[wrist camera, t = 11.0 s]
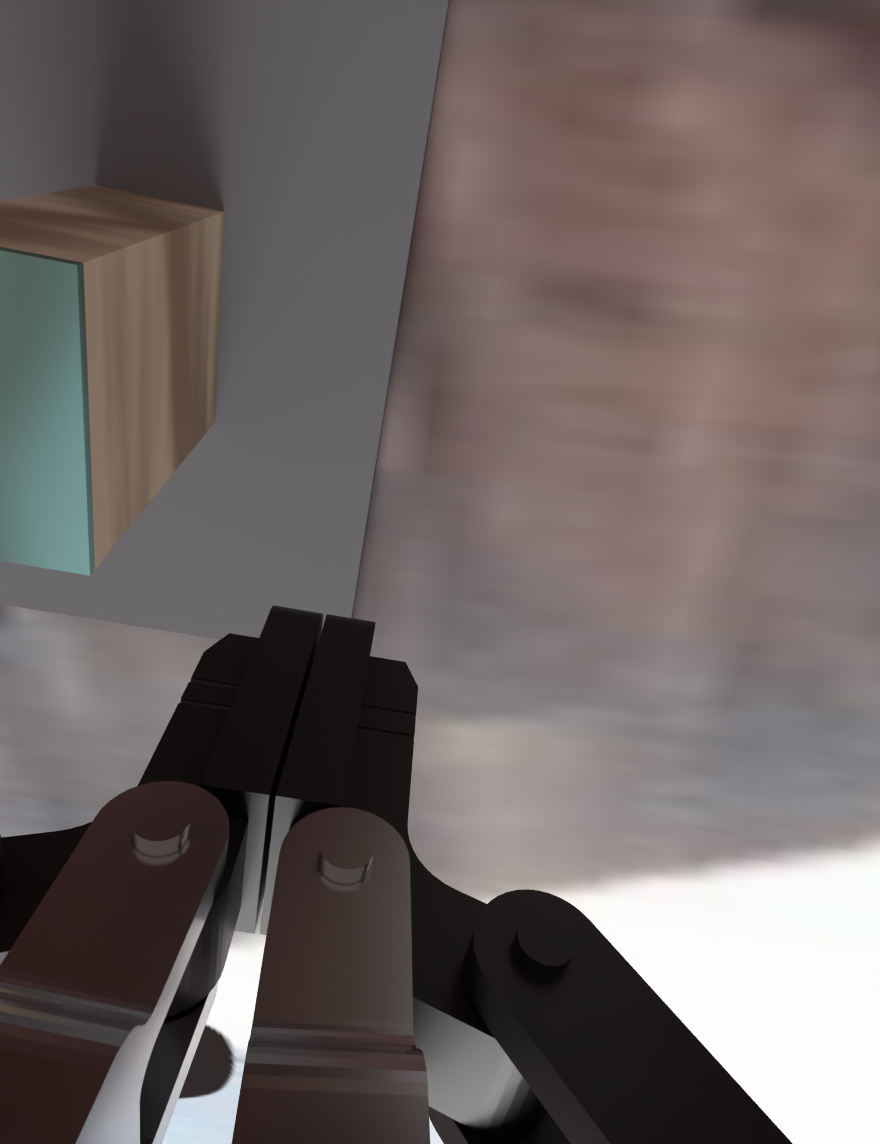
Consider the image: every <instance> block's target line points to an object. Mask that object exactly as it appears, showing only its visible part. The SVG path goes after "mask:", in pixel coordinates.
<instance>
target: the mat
mask: <svg viewBox="0 0 880 1144" xmlns="http://www.w3.org/2000/svg"><path fill="white" fill-rule="evenodd" d="M449 1H450V0H0V200H6V199H12V198H18V197H24V196H31V195H37V194H43V193H49V192H56V191H62V190H68V189H75V188H81V187H87V186H93V185H96V186H101V187H106V188H111V189H116V190H121V191H125V192H130V193H135V194H140V195H145V196H150V197H155V198H160V199H165V200H170V201H175V202H180V203H185V204H189V205H194V206H199V207H204V208H209V209H214V210H219V211H224V229H223V251H222V273H221V295H220V318H219V340H218V362H217V384H216V406H215V423H214V424H213V425H212V426H211V428H210V429H209V430H208V431H207V433H206V434H205V435H204V436H203V437H202V439H201V440H200V441H199V442H198V444H197V445H196V446H195V447H194V448H193V450H192V451H191V452H190V453H189V455H188V456H187V457H186V458H185V460H184V461H183V462H182V463H181V464H180V466H179V467H178V468H177V469H176V471H175V472H174V473H173V474H172V476H171V477H170V478H169V479H168V480H167V482H166V483H165V484H164V485H163V487H162V488H161V489H160V490H159V492H158V493H157V494H156V495H155V496H154V498H153V499H152V500H151V501H150V503H149V504H148V505H147V506H146V507H145V509H144V510H143V511H142V512H141V514H140V515H139V516H138V517H137V519H136V520H135V521H134V522H133V523H132V525H131V526H130V527H129V528H128V530H127V531H126V532H125V533H124V535H123V536H122V537H121V538H120V539H119V541H118V542H117V543H116V544H115V546H114V547H113V548H112V549H111V551H110V552H109V553H108V554H107V555H106V557H105V558H104V559H103V560H102V562H101V563H100V564H99V565H98V567H97V568H96V569H95V570H94V571H93V573H92V574H91V575H90V576H89V575H83V574H77V573H71V572H65V571H59V570H53V569H46V568H40V567H34V566H28V565H22V564H16V563H10V562H4V561H0V604H4V605H10V606H17V607H23V608H29V609H35V610H41V611H48V612H54V613H60V614H66V615H72V616H79V617H85V618H91V619H97V620H103V621H110V622H116V623H122V624H128V625H134V626H141V627H147V628H153V629H159V630H165V631H172V632H178V633H184V634H190V635H196V636H203V637H209V638H215V639H222V638H223V637H225V636H226V635H227V634H229V633H232V634H238V635H244V636H250V637H256V638H259V637H260V635H261V632H262V630H263V627H264V625H265V622H266V620H267V617H268V615H269V612H270V610H271V608H272V606H273V605H275V606H281V607H287V608H293V609H299V610H305V611H311V612H316V613H322V614H323V624H322V628H323V625H324V621H325V618H326V615H327V614H329V615H335V616H341V617H347V618H352V615H353V608H354V602H355V596H356V589H357V583H358V577H359V570H360V564H361V558H362V551H363V545H364V539H365V532H366V526H367V520H368V513H369V507H370V501H371V494H372V488H373V482H374V475H375V469H376V463H377V456H378V450H379V444H380V437H381V431H382V425H383V418H384V412H385V406H386V399H387V393H388V387H389V380H390V374H391V368H392V362H393V355H394V349H395V343H396V336H397V330H398V324H399V317H400V311H401V305H402V298H403V292H404V286H405V279H406V273H407V267H408V260H409V254H410V248H411V241H412V235H413V229H414V222H415V216H416V210H417V203H418V197H419V191H420V184H421V178H422V172H423V165H424V159H425V153H426V146H427V140H428V134H429V128H430V121H431V115H432V109H433V102H434V96H435V90H436V83H437V77H438V71H439V64H440V58H441V52H442V45H443V39H444V33H445V26H446V20H447V14H448V7H449Z"/></svg>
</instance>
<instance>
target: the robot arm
mask: <svg viewBox="0 0 880 1144" xmlns="http://www.w3.org/2000/svg"><path fill="white" fill-rule="evenodd" d="M375 623H376V622H371V621H365V620H359V619H353V618H347V617H341V616H335V615H329V614H327V615H326V618H325V621H324V625H323V628H322V624H323V614H322V613H316V612H311V611H305V610H299V609H293V608H287V607H281V606H275V605H273V606H272V608H271V610H270V612H269V615H268V617H267V620H266V622H265V625H264V627H263V630H262V632H261V635H260V637H259V638H256V637H250V636H244V635H238V634H232V633H229V634H227V635H226V636H225V637H223V638H222V639H221V640H219V641H218V642H217V643H215V644H214V645H213V646H211V647H210V648H209V649H207V650H206V651H205V652H204V653H203V655H202V657H201V659H200V661H199V663H198V665H197V667H196V669H195V671H194V673H193V675H192V677H191V682H189V683H188V685H187V687H186V689H185V691H184V693H183V695H182V697H181V702H180V704H178V706H177V708H176V710H175V712H174V714H173V716H172V718H171V720H170V722H169V724H168V726H167V728H166V730H165V732H164V734H163V736H162V738H161V740H160V742H159V744H158V746H157V748H156V750H155V752H154V754H153V756H152V758H151V760H150V762H149V764H148V766H147V768H146V770H145V772H144V774H143V776H142V778H141V780H140V782H139V784H138V786H137V787H134V788H131V789H129V790H127V791H125V792H123V793H121V794H119V795H118V796H116V797H115V798H113V799H112V800H110V801H109V802H108V803H107V804H106V805H105V806H104V807H103V808H102V809H101V810H100V812H99V813H98V814H97V816H96V817H95V818H94V820H93V822H90V823H88V824H85V825H82V826H79V827H75V828H71V829H67V830H61V831H55V832H46V833H38V834H29V835H20V836H12V837H3V838H1V836H0V1144H162V1141H163V1139H164V1136H165V1133H166V1131H167V1128H168V1125H169V1122H170V1120H171V1117H172V1114H173V1111H174V1109H175V1106H176V1103H177V1100H178V1098H179V1095H180V1092H181V1089H182V1087H183V1084H184V1081H185V1078H186V1076H187V1073H188V1070H189V1067H190V1065H191V1062H192V1059H193V1057H194V1054H195V1051H196V1048H197V1046H198V1043H199V1040H200V1037H201V1035H202V1032H203V1029H204V1027H205V1024H206V1021H207V1018H208V1016H209V1013H210V1010H211V1008H212V1005H213V1002H214V999H215V996H216V992H217V985H218V980H219V978H220V976H221V974H222V971H223V968H224V965H225V961H226V958H227V954H228V951H229V947H230V944H231V940H232V937H233V933H234V931H240V932H247V933H255V929H256V925H257V921H258V917H259V913H260V910H261V906H262V902H263V898H264V903H263V912H262V921H261V930H260V934H264V935H266V942H265V948H264V954H263V961H262V967H261V973H260V980H259V986H258V992H257V999H256V1005H255V1012H254V1018H253V1024H252V1030H251V1036H250V1040H249V1042H248V1047H247V1053H246V1059H245V1064H244V1071H243V1077H242V1083H241V1089H240V1095H239V1102H238V1108H237V1114H236V1120H235V1127H234V1133H233V1139H232V1144H430V1130H429V1117H430V1120H431V1122H432V1124H433V1126H434V1128H435V1130H436V1131H437V1133H438V1135H439V1136H440V1138H441V1140H442V1141H443V1143H444V1144H792V1143H791V1142H790V1140H789V1139H788V1138H787V1137H786V1136H785V1135H784V1134H783V1133H782V1132H781V1130H780V1129H779V1128H778V1127H777V1126H776V1125H775V1124H774V1123H773V1122H772V1121H771V1119H770V1118H769V1117H768V1116H767V1115H766V1114H765V1113H764V1112H763V1111H762V1110H761V1108H760V1107H759V1106H758V1105H757V1104H756V1103H755V1102H754V1101H753V1100H752V1099H751V1097H750V1096H749V1095H748V1094H747V1093H746V1092H745V1091H744V1090H743V1089H742V1088H741V1086H740V1085H739V1084H738V1083H737V1082H736V1081H735V1080H734V1079H733V1078H732V1077H731V1075H730V1074H729V1073H728V1072H727V1071H726V1070H725V1069H724V1068H723V1067H722V1066H721V1064H720V1063H719V1062H718V1061H717V1060H716V1059H715V1058H714V1057H713V1056H712V1055H711V1053H710V1052H709V1051H708V1050H707V1049H706V1048H705V1047H704V1046H703V1045H702V1044H701V1042H700V1041H699V1040H698V1039H697V1038H696V1037H695V1036H694V1035H693V1034H692V1032H691V1031H690V1030H689V1029H688V1028H687V1027H686V1026H685V1025H684V1024H683V1023H682V1021H681V1020H680V1019H679V1018H678V1017H677V1016H676V1015H675V1014H674V1013H673V1012H672V1010H671V1009H670V1008H669V1007H668V1006H667V1005H666V1004H665V1003H664V1002H663V1001H662V999H661V998H660V997H659V996H658V995H657V994H656V993H655V992H654V991H653V990H652V988H651V987H650V986H649V985H648V984H647V983H646V982H645V981H644V980H643V979H642V977H641V976H640V975H639V974H638V973H637V972H636V971H635V970H634V969H633V968H632V966H631V965H630V964H629V963H628V962H627V961H626V960H625V959H624V958H623V957H622V955H621V954H620V953H619V952H618V951H617V950H616V949H615V948H614V947H613V946H612V944H611V943H610V942H609V941H608V940H607V939H606V938H605V937H604V936H603V934H602V933H601V932H600V931H599V930H598V929H597V928H596V927H595V926H594V925H593V923H592V922H591V921H590V920H589V919H588V918H587V917H586V916H585V915H584V914H583V913H582V912H581V911H580V910H578V909H577V908H576V907H574V906H573V905H571V904H570V903H568V902H567V901H565V900H563V899H561V898H559V897H557V896H554V895H552V894H549V893H546V892H542V891H537V890H515V891H510V892H506V893H504V894H502V895H499V896H497V897H496V898H494V899H493V900H491V901H490V902H489V903H488V904H486V903H483V902H481V901H479V900H477V899H475V898H473V897H470V896H468V895H466V894H464V893H462V892H460V891H457V890H455V889H453V888H452V887H450V886H448V885H446V884H444V883H443V882H441V881H440V880H439V879H437V878H436V877H435V876H433V875H432V874H431V873H430V872H429V871H428V870H427V869H426V868H425V867H424V866H423V864H422V863H421V862H420V861H419V859H418V858H417V856H416V854H415V852H414V851H413V848H412V846H411V843H410V841H409V836H408V825H407V822H408V809H409V797H410V784H411V771H412V758H413V745H414V741H413V740H414V733H415V720H416V718H415V716H416V707H417V694H418V686H417V684H416V682H415V680H414V678H413V676H412V674H411V672H410V670H409V668H408V666H407V664H406V662H401V661H395V660H389V659H383V658H377V657H371V656H370V651H371V646H372V640H373V634H374V629H375ZM264 894H265V895H264Z"/></svg>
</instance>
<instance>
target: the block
mask: <svg viewBox="0 0 880 1144" xmlns="http://www.w3.org/2000/svg"><path fill="white" fill-rule="evenodd" d="M223 229H224V211H219V210H214V209H209V208H204V207H199V206H194V205H189V204H185V203H180V202H175V201H170V200H165V199H160V198H155V197H150V196H145V195H140V194H135V193H130V192H125V191H121V190H116V189H111V188H106V187H101V186H96V185H93V186H87V187H81V188H75V189H68V190H62V191H56V192H49V193H43V194H37V195H31V196H24V197H18V198H12V199H6V200H0V561H4V562H10V563H16V564H22V565H28V566H34V567H40V568H46V569H53V570H59V571H65V572H71V573H77V574H83V575H89V576H90V575H91V574H92V573H93V571H94V570H95V569H96V568H97V567H98V565H99V564H100V563H101V562H102V560H103V559H104V558H105V557H106V555H107V554H108V553H109V552H110V551H111V549H112V548H113V547H114V546H115V544H116V543H117V542H118V541H119V539H120V538H121V537H122V536H123V535H124V533H125V532H126V531H127V530H128V528H129V527H130V526H131V525H132V523H133V522H134V521H135V520H136V519H137V517H138V516H139V515H140V514H141V512H142V511H143V510H144V509H145V507H146V506H147V505H148V504H149V503H150V501H151V500H152V499H153V498H154V496H155V495H156V494H157V493H158V492H159V490H160V489H161V488H162V487H163V485H164V484H165V483H166V482H167V480H168V479H169V478H170V477H171V476H172V474H173V473H174V472H175V471H176V469H177V468H178V467H179V466H180V464H181V463H182V462H183V461H184V460H185V458H186V457H187V456H188V455H189V453H190V452H191V451H192V450H193V448H194V447H195V446H196V445H197V444H198V442H199V441H200V440H201V439H202V437H203V436H204V435H205V434H206V433H207V431H208V430H209V429H210V428H211V426H212V425H213V424H214V423H215V406H216V384H217V362H218V340H219V318H220V295H221V273H222V251H223Z"/></svg>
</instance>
